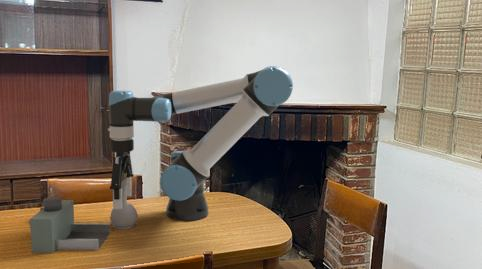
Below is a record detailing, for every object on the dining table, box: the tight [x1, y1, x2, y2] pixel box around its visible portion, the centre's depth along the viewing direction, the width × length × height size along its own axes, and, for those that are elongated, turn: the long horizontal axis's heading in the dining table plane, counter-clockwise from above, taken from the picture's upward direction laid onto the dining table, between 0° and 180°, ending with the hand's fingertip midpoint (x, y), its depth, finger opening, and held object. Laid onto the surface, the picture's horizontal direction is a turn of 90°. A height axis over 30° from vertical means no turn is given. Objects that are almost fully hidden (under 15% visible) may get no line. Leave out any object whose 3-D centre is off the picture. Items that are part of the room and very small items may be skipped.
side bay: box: [55, 222, 111, 251], centre depth 136 cm, size 12×14×3 cm
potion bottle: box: [109, 173, 138, 230], centre depth 148 cm, size 9×9×18 cm
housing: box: [29, 196, 75, 254], centre depth 135 cm, size 6×18×13 cm, turn 2°
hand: (122, 202), depth 149 cm, fingers open, 13 cm apart
